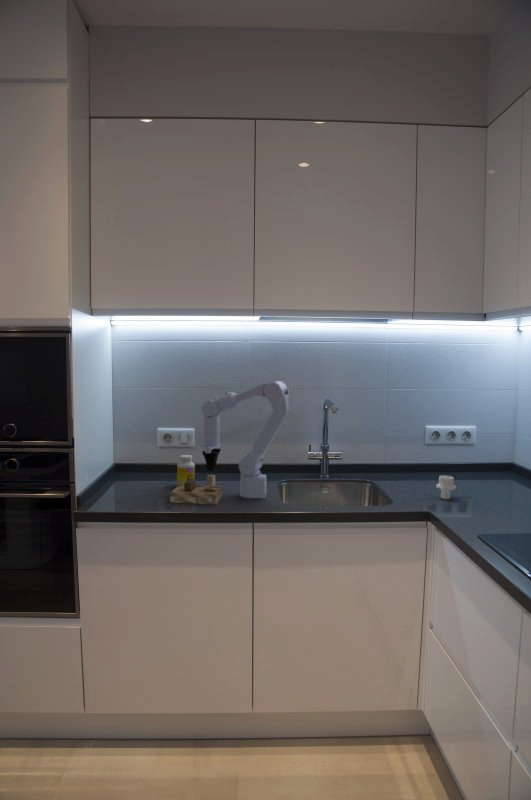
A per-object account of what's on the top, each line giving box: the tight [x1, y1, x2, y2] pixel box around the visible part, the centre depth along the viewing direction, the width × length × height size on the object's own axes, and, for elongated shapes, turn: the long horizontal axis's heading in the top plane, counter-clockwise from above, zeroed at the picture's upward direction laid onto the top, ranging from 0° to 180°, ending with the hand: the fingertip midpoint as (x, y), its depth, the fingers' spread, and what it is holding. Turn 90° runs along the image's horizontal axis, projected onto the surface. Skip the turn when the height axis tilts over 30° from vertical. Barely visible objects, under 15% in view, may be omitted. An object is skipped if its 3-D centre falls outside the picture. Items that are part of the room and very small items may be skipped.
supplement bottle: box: [176, 454, 196, 487], centre depth 209 cm, size 7×7×13 cm
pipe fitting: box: [435, 475, 457, 500], centre depth 204 cm, size 6×7×8 cm
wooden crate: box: [169, 484, 223, 505], centre depth 192 cm, size 16×11×4 cm
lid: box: [171, 479, 221, 496], centre depth 192 cm, size 16×9×4 cm, turn 85°
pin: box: [206, 474, 216, 486], centre depth 203 cm, size 3×3×7 cm
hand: (211, 469), depth 202 cm, fingers open, 3 cm apart
